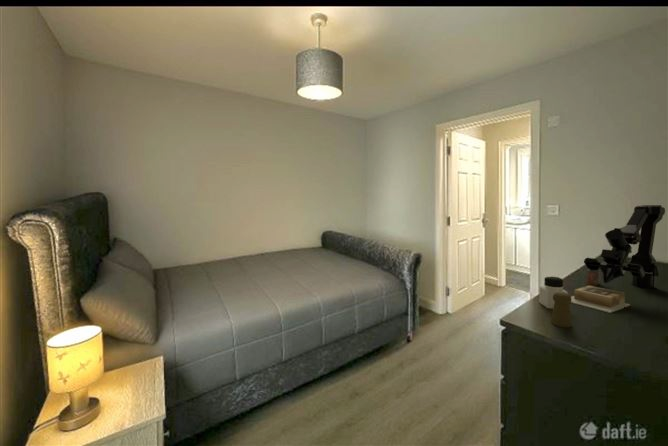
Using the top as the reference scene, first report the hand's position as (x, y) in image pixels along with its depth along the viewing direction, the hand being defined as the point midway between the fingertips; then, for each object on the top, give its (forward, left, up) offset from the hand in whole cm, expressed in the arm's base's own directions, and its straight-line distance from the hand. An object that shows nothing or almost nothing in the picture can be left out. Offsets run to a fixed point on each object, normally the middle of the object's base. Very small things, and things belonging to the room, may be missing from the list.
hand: (605, 282), depth 123 cm
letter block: (-1, -1, -5) cm, 5 cm away
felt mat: (+6, +4, -8) cm, 11 cm away
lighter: (-10, -24, -8) cm, 27 cm away
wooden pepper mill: (+30, +28, -8) cm, 42 cm away
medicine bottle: (+24, +10, -8) cm, 27 cm away
